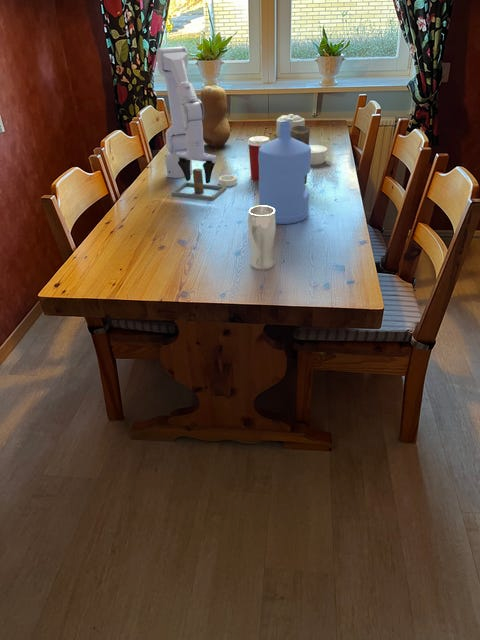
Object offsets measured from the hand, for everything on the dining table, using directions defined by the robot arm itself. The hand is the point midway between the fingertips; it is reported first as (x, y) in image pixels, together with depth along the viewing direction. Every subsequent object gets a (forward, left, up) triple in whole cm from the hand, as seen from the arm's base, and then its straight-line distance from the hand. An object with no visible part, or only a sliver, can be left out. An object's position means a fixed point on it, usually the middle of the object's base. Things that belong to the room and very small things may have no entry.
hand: (198, 181), depth 172 cm
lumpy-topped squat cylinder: (+7, +85, -5) cm, 85 cm away
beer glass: (+39, -42, -5) cm, 57 cm away
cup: (+6, +11, -5) cm, 14 cm away
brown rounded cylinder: (+30, +18, -5) cm, 36 cm away
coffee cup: (+15, +20, -5) cm, 26 cm away
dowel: (0, 0, -4) cm, 4 cm away
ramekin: (+28, +47, -5) cm, 55 cm away
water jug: (+34, -9, -5) cm, 35 cm away
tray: (0, 0, -5) cm, 5 cm away
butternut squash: (-20, +57, -5) cm, 61 cm away
